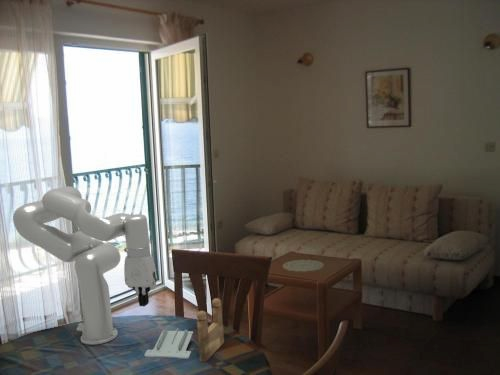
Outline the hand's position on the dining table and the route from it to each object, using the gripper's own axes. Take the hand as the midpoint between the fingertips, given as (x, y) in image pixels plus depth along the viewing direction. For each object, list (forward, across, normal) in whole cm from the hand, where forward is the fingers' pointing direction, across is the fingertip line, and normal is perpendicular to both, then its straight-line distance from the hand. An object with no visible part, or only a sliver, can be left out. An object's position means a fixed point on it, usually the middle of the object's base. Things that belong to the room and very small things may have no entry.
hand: (144, 304), depth 170 cm
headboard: (+14, +24, 0) cm, 28 cm away
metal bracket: (+14, +10, -1) cm, 18 cm away
